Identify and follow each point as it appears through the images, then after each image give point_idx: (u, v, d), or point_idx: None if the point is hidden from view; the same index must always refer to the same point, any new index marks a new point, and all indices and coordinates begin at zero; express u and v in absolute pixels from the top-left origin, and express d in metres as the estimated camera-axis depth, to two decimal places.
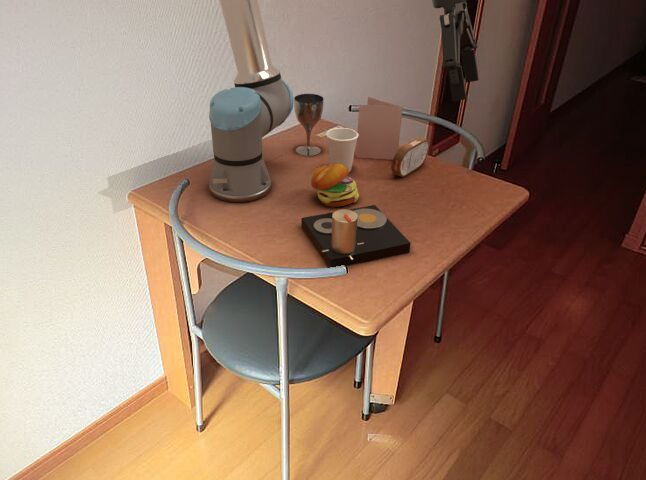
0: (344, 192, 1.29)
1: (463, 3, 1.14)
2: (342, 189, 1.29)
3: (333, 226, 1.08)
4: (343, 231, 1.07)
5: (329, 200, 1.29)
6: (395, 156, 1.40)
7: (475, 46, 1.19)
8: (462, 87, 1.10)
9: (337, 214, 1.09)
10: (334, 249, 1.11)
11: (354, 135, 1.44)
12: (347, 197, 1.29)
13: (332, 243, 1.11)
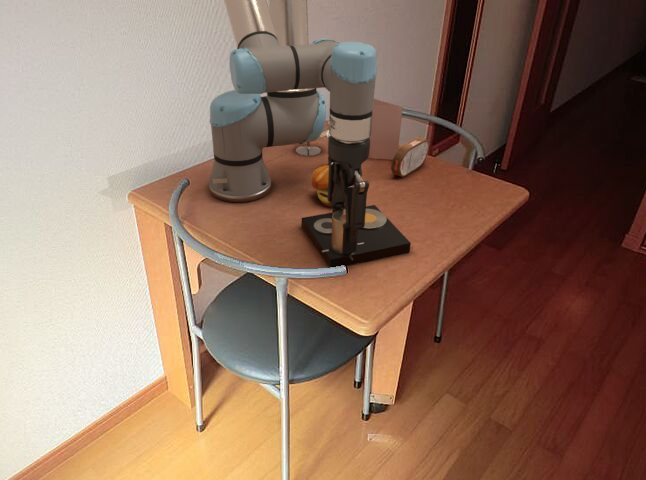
0: None
1: (356, 182, 0.98)
2: None
3: (333, 226, 1.08)
4: None
5: None
6: (395, 156, 1.40)
7: (344, 224, 1.05)
8: None
9: (337, 214, 1.09)
10: (334, 249, 1.11)
11: None
12: None
13: (332, 243, 1.11)
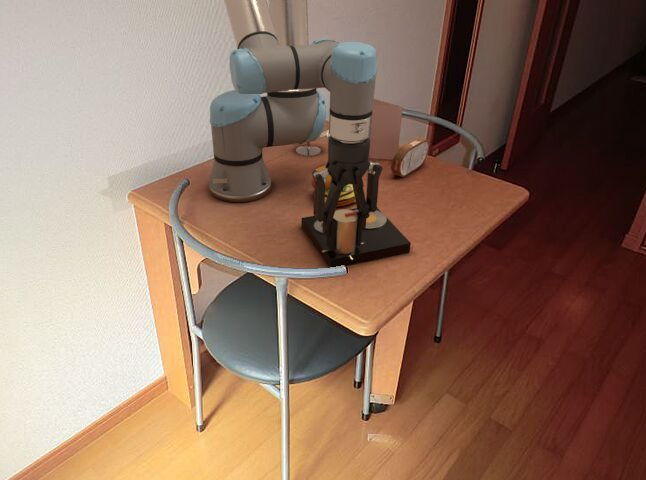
0: (344, 192, 1.29)
1: (377, 166, 1.04)
2: None
3: (350, 229, 1.07)
4: None
5: None
6: (395, 156, 1.40)
7: (364, 215, 1.08)
8: (331, 240, 1.09)
9: (342, 219, 1.07)
10: (352, 250, 1.11)
11: None
12: (347, 197, 1.29)
13: (349, 247, 1.10)
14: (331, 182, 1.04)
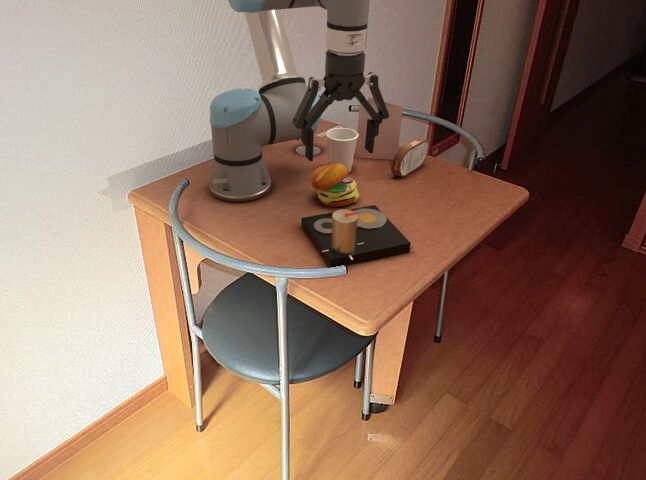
0: (344, 192, 1.29)
1: (372, 76, 1.08)
2: (342, 189, 1.29)
3: (350, 229, 1.07)
4: None
5: (329, 200, 1.29)
6: (395, 156, 1.40)
7: (378, 122, 1.13)
8: (309, 150, 1.12)
9: (342, 219, 1.07)
10: (352, 250, 1.11)
11: (354, 135, 1.44)
12: (347, 197, 1.29)
13: (349, 247, 1.10)
14: (322, 94, 1.09)
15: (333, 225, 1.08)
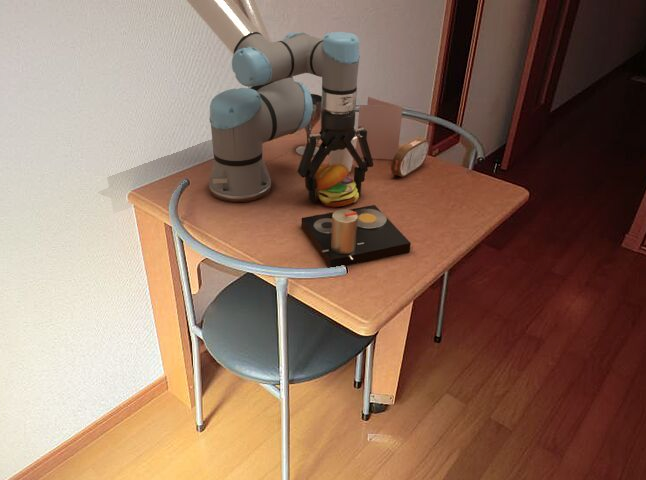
0: (344, 192, 1.29)
1: (362, 130, 1.25)
2: (342, 189, 1.29)
3: (350, 229, 1.07)
4: None
5: (329, 200, 1.29)
6: (395, 156, 1.40)
7: (363, 170, 1.31)
8: (312, 194, 1.30)
9: (342, 219, 1.07)
10: (352, 250, 1.11)
11: None
12: (347, 197, 1.29)
13: (349, 247, 1.10)
14: (320, 146, 1.26)
15: (333, 225, 1.08)
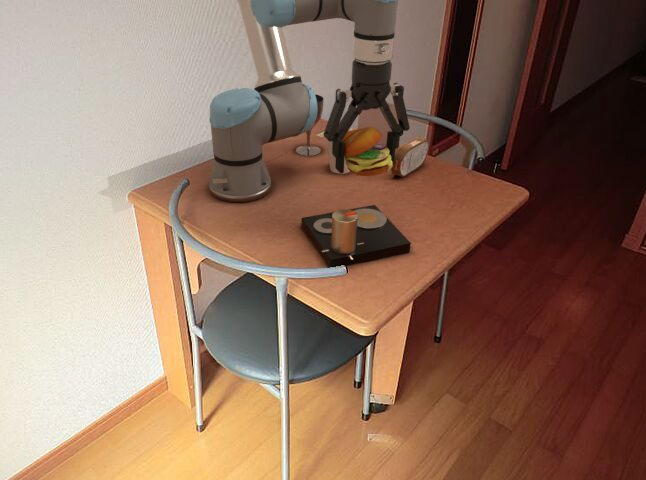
0: (377, 159, 1.12)
1: (398, 86, 1.09)
2: (375, 155, 1.12)
3: (350, 229, 1.07)
4: None
5: (360, 168, 1.13)
6: (395, 156, 1.40)
7: (398, 133, 1.14)
8: (340, 162, 1.13)
9: (342, 219, 1.07)
10: (352, 250, 1.11)
11: None
12: (380, 165, 1.13)
13: (349, 247, 1.10)
14: (350, 105, 1.10)
15: (333, 225, 1.08)
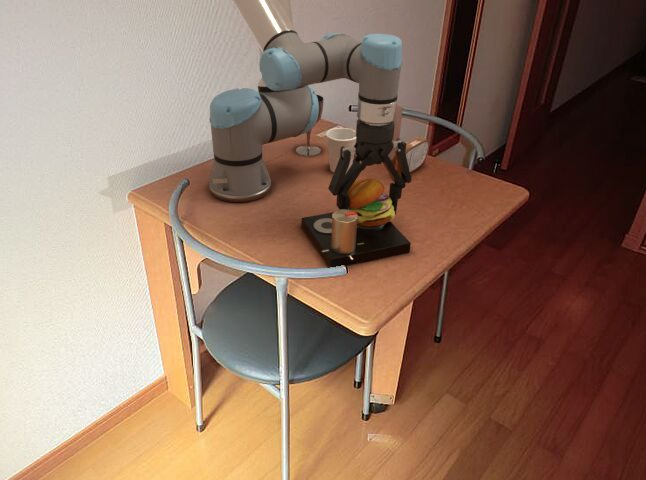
0: (380, 211, 1.16)
1: (401, 143, 1.13)
2: (378, 207, 1.16)
3: (350, 229, 1.07)
4: None
5: (363, 219, 1.17)
6: (395, 156, 1.40)
7: (401, 186, 1.18)
8: None
9: (342, 219, 1.07)
10: (352, 250, 1.11)
11: (354, 135, 1.44)
12: (383, 216, 1.17)
13: (349, 247, 1.10)
14: (354, 160, 1.14)
15: (333, 225, 1.08)
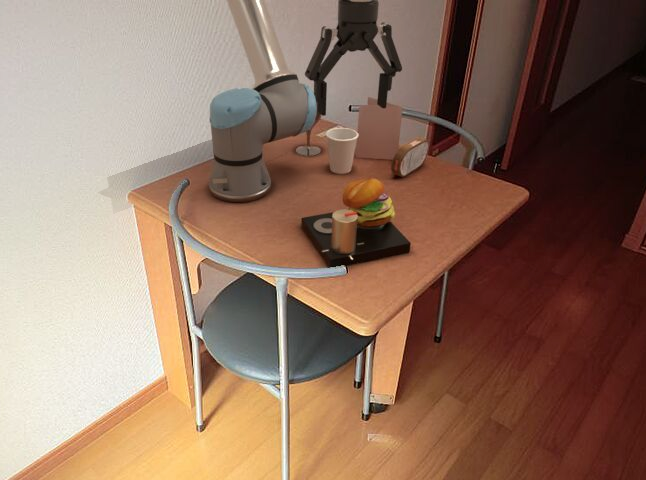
0: (380, 211, 1.16)
1: (386, 26, 1.06)
2: (378, 207, 1.16)
3: (350, 229, 1.07)
4: None
5: (363, 219, 1.17)
6: (395, 156, 1.40)
7: (391, 74, 1.12)
8: (322, 103, 1.10)
9: (342, 219, 1.07)
10: (352, 250, 1.11)
11: (354, 135, 1.44)
12: (383, 216, 1.17)
13: (349, 247, 1.10)
14: (335, 45, 1.07)
15: (333, 225, 1.08)
